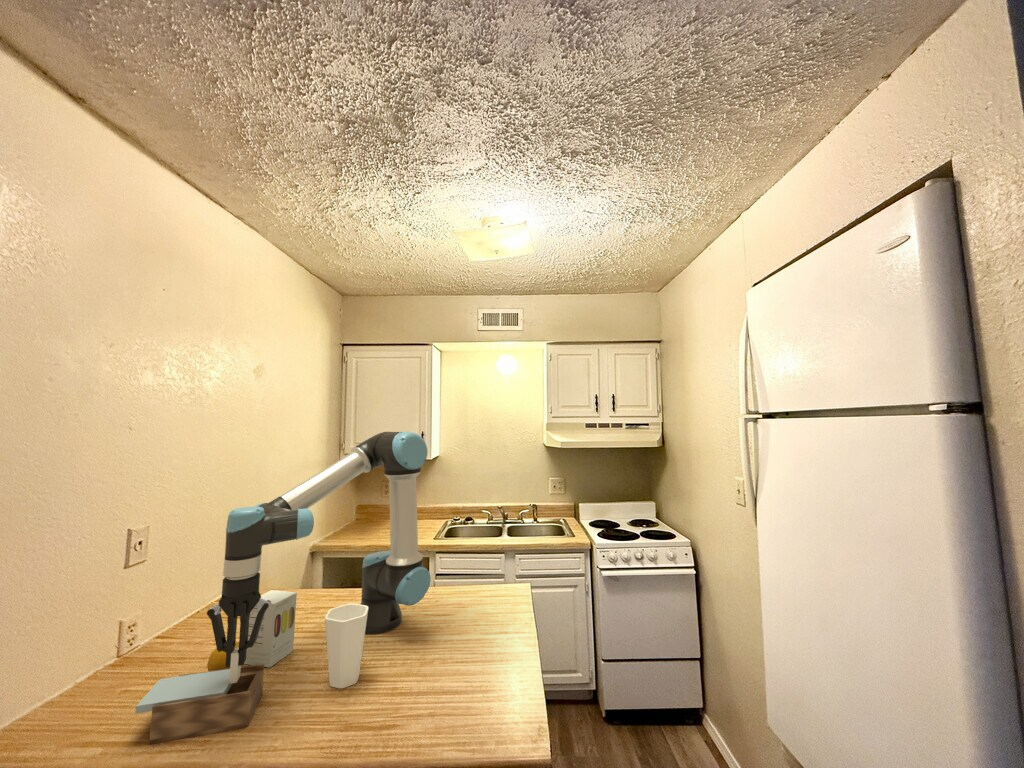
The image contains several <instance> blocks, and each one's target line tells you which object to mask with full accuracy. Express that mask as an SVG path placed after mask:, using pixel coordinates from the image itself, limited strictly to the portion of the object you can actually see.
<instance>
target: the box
mask: <svg viewBox="0 0 1024 768" xmlns="http://www.w3.org/2000/svg"><path fill="white" fill-rule="evenodd" d="M228 669H230V668H228ZM221 670H226V669H221ZM214 671H219V670H214ZM206 672H212V671H208V670H206V671H202V672H194V673H188V674H187V673H186V674H180V675H178V676H185V675H192V674H199V673H206ZM264 673H265V667H264V664H257V665H243V667H241V671H240V677H239V679H238V681H237V683H233V684H232V685H231V687H230V689H229V690H228V692H227V694H225V695H219V696H213V697H206V698H200V699H193V700H187V701H180V702H174V703H167V704H161V705H154V706H153V707H152V711H151V720H150V731H149V743H148V745H154V744H159V743H165V742H172V741H176V740H181V739H187V738H192V737H198V736H204V735H210V734H215V733H221V732H226V731H227V732H229V731H234V730H239V729H245V728H248V726H249V724H250V722H251V719H252V718H253V716H254V713H255V711H256V709H257V707H258V705H259V703H260V700H261V698H262V697H263V695H264V694H263V690H264Z"/></svg>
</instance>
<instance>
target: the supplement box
mask: <svg viewBox="0 0 1024 768" xmlns="http://www.w3.org/2000/svg"><path fill="white" fill-rule="evenodd" d="M297 594H298V593H297V592H296V591H284V590H275V589H271V590H269V591H266V592H265V593H263V594H260V595H261V598H262V599H263V600H265V601H267V600H270V601H271V603H270V605H269V607H268V608H267V610H266V611H265V614H264V617H263V620H262V624H261V627H260V630H259V633H258V636H257V639H256V642H255V643H254V645H253V646H252V647H251V648H247V653H246V661H245V663H244V665H247V666H250V665H257V664H264V668H271V667H273V666H274V665H276V664H277V663H279V662H280V661H281V660H283V659H284V658H285V657H287V656H288V655H289V654H291V653H292V652H294V644H295V641H294V640H295V627H296V626H295V625H296V613H297V612H296V610H297V608H296V607H297ZM258 612H259V610H258V604H256V606H255V607H254V608H253V610H252V611H251V612H250V616H249V631H248V640H249V639H250V636H251V633H252V630H253V626H254V623H255V620H256V617H257V614H258Z"/></svg>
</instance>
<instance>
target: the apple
mask: <svg viewBox="0 0 1024 768" xmlns="http://www.w3.org/2000/svg"><path fill="white" fill-rule="evenodd" d="M235 644H236V646H235V647H234V649H235V648H239V641H236V642H235ZM206 666H207V671H214V670H221V669H228V668H230V667H226V652H224V651H221V652H218V651H217V647H216V648H215V649H213V651H212V652H211V654H210V655H209V657H208V660H207V664H206ZM243 666H245V664H243V665H241V667H243Z"/></svg>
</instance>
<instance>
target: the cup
mask: <svg viewBox="0 0 1024 768" xmlns="http://www.w3.org/2000/svg"><path fill="white" fill-rule="evenodd" d="M368 608H369V607H368V606H365V605H360V604H359V603H347V604H342V605H340V606H336V607H331V608H330V609H329V610H328V611H327V613H326V615H325V617H324V624H325V637H326V638H325V640H326V641H325V642H326V654H327V664H328V665H327V668H328V683H329V686H330V687H332V688H337V689H345V688H347V687H350V686H353V685H355V684H356V683H357V682H358V681H359V677H360V671H361V664H362V663H361V662H362V656H363V648H364V642H365V635H366V634H365V629H366V622H367V615H368Z"/></svg>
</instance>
